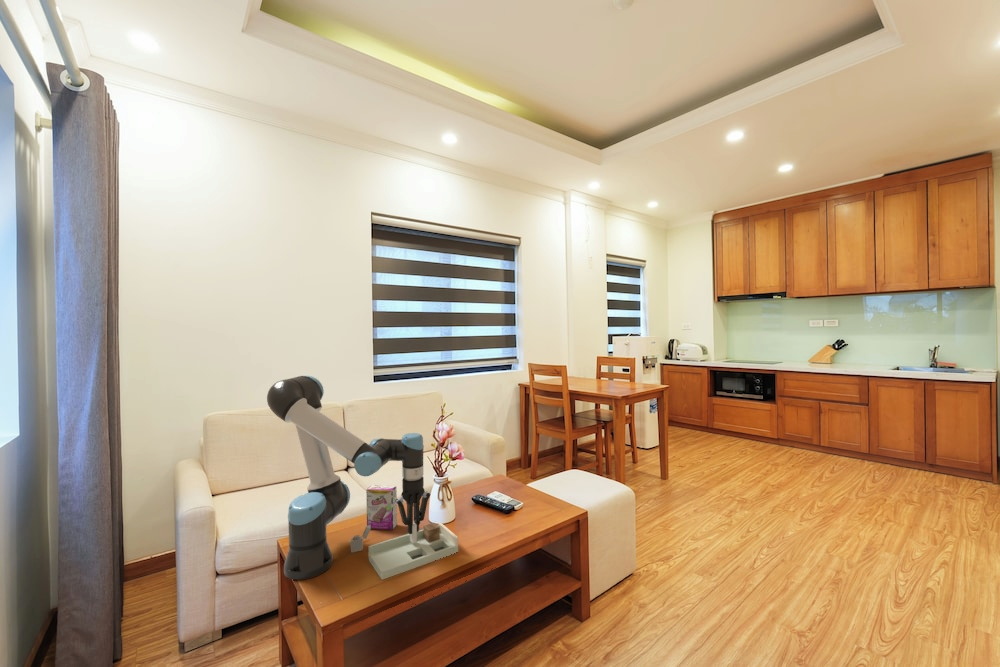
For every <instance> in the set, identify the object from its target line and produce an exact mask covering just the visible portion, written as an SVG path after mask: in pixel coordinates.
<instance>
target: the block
mask: <svg viewBox="0 0 1000 667" xmlns="http://www.w3.org/2000/svg"><path fill="white" fill-rule="evenodd" d="M422 529H423V537H424V539H425V540H426V541H427V542H428V543H430V542H433V541H436V540H439V539H440V527H439V526H438V524H436V522H432V523H428V524H425V525H423V528H422Z"/></svg>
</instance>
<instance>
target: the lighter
mask: <svg viewBox="0 0 1000 667" xmlns="http://www.w3.org/2000/svg"><path fill="white" fill-rule="evenodd" d="M371 530H372V529H371V527H370V526H367V525H366V526H365V529H364V530H363V532H362V536H361V535H360V534H358V535H354V536H352V538H350V539H349V540H350V553H351V554H352V553H356V552H360V551H363V550H364V539H365V540H366V539H367V538H368V536H369V533H370V531H371Z"/></svg>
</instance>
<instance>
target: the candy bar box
mask: <svg viewBox="0 0 1000 667" xmlns="http://www.w3.org/2000/svg"><path fill="white" fill-rule="evenodd" d="M365 492H366V526H370V527H371V529H370V530H385V531H387V530H388V531H391V530H392V531H393V530H394V529H395V528H396V526H397V525H398V514H397V513H398V504H397V503H396V502H395V500H396V499H398V498H397V494H398V493H397V485H381V484H380V485H379V484H378V485H377V484H375V485H373V484H370V485H369V487H367V489H366V491H365Z"/></svg>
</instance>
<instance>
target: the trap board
mask: <svg viewBox="0 0 1000 667" xmlns="http://www.w3.org/2000/svg"><path fill="white" fill-rule="evenodd" d="M437 525H438V526H439V527H440V539H439V540H436V541H433V542H430V543H428V542H427V541H426V540H425V539H424V537H423V528H422V529H419V532H417V542H416V543H412V542H411V541H410V534H409V533H406V534H403V535H399V536H396V537H392V538H391V539H387V540H384V541H380V542H377V543H374V544H370V545H368V548H367V549H368V550H367V551H368V561H369V563H370V564H371V566H372V567H373V569H374V570H375V572H376V573H377V575H378V576H379V578H380V579H381V580H382V581H383V580H386V579H388V578H391V577H393V576H396V575H400V574H402V573H404V572H408V571H410V570H413V569H416V568H419V567H422V566H425V565H427V564H429V563H433V562H435V560H436V561H438V560H441V559H444V558H446V556H447V557H448V556H452V555H454V553H455V554H457V553H456V552H458V553H459V537H458V536H457V535H456V534H455V533H454V532H453V531H451V530H450V529H449V528H448V527H447V526H446V525H444V524H443V523H442V522H438V523H437ZM451 554H452V555H451ZM443 557H444V558H443ZM440 558H441V559H440Z"/></svg>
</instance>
